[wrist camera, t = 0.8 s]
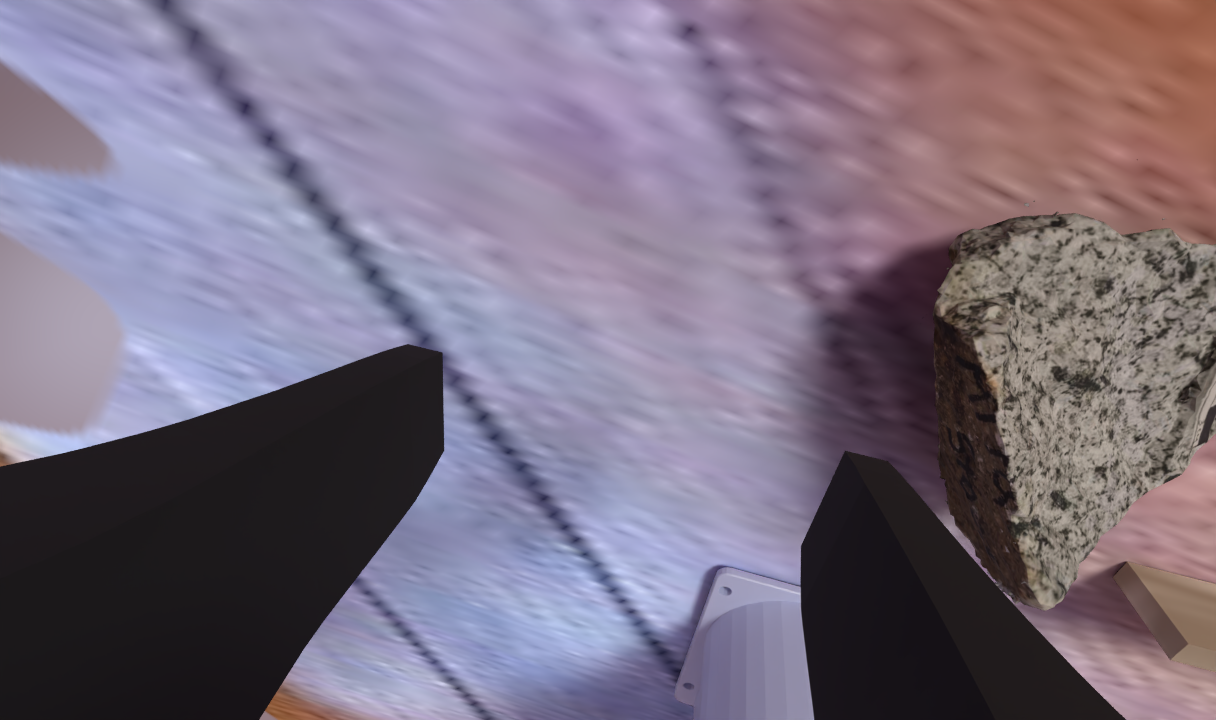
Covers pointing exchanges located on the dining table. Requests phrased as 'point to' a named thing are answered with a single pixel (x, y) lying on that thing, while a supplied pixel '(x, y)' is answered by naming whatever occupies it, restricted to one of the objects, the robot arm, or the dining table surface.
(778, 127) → the dining table surface
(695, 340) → the dining table surface
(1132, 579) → the tray frame
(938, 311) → the rock sample
